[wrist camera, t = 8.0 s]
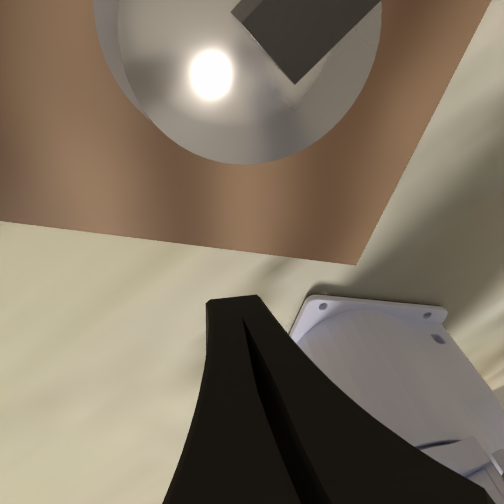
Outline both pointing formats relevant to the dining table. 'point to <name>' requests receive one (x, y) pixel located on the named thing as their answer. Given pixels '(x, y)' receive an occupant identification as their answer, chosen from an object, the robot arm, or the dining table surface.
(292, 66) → the steel cap
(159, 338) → the dining table surface
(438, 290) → the dining table surface
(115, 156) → the post base
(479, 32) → the dining table surface
